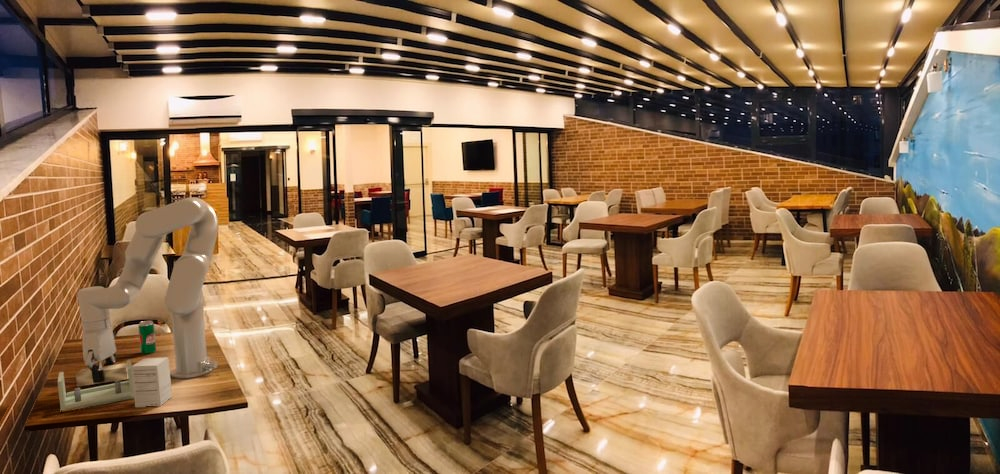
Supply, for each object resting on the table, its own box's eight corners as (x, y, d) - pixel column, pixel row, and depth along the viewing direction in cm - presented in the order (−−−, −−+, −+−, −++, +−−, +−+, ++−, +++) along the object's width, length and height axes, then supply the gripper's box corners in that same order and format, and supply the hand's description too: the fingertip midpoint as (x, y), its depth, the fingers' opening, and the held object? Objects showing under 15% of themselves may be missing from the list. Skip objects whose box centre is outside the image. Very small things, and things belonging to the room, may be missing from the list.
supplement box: (147, 398, 171) (143, 357, 169) (173, 396, 172) (169, 356, 170) (134, 408, 164) (130, 366, 162) (160, 406, 164) (156, 365, 163)
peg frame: (132, 385, 181) (130, 358, 180) (135, 397, 171) (132, 369, 170) (62, 399, 170) (59, 371, 169) (60, 413, 161) (57, 382, 160)
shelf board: (132, 373, 188) (130, 362, 188) (127, 379, 183) (125, 367, 183) (83, 381, 184) (81, 369, 184) (77, 386, 179) (75, 374, 179)
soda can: (149, 354, 213) (146, 323, 211) (137, 354, 214) (134, 323, 212) (159, 350, 218) (156, 320, 216) (148, 350, 219) (145, 320, 217)
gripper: (100, 318, 189) (108, 370, 192) (67, 333, 172) (76, 389, 175) (124, 317, 190) (131, 368, 192) (92, 331, 173) (101, 387, 175)
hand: (105, 378), depth 184 cm, fingers closed on shelf board, 5 cm apart
